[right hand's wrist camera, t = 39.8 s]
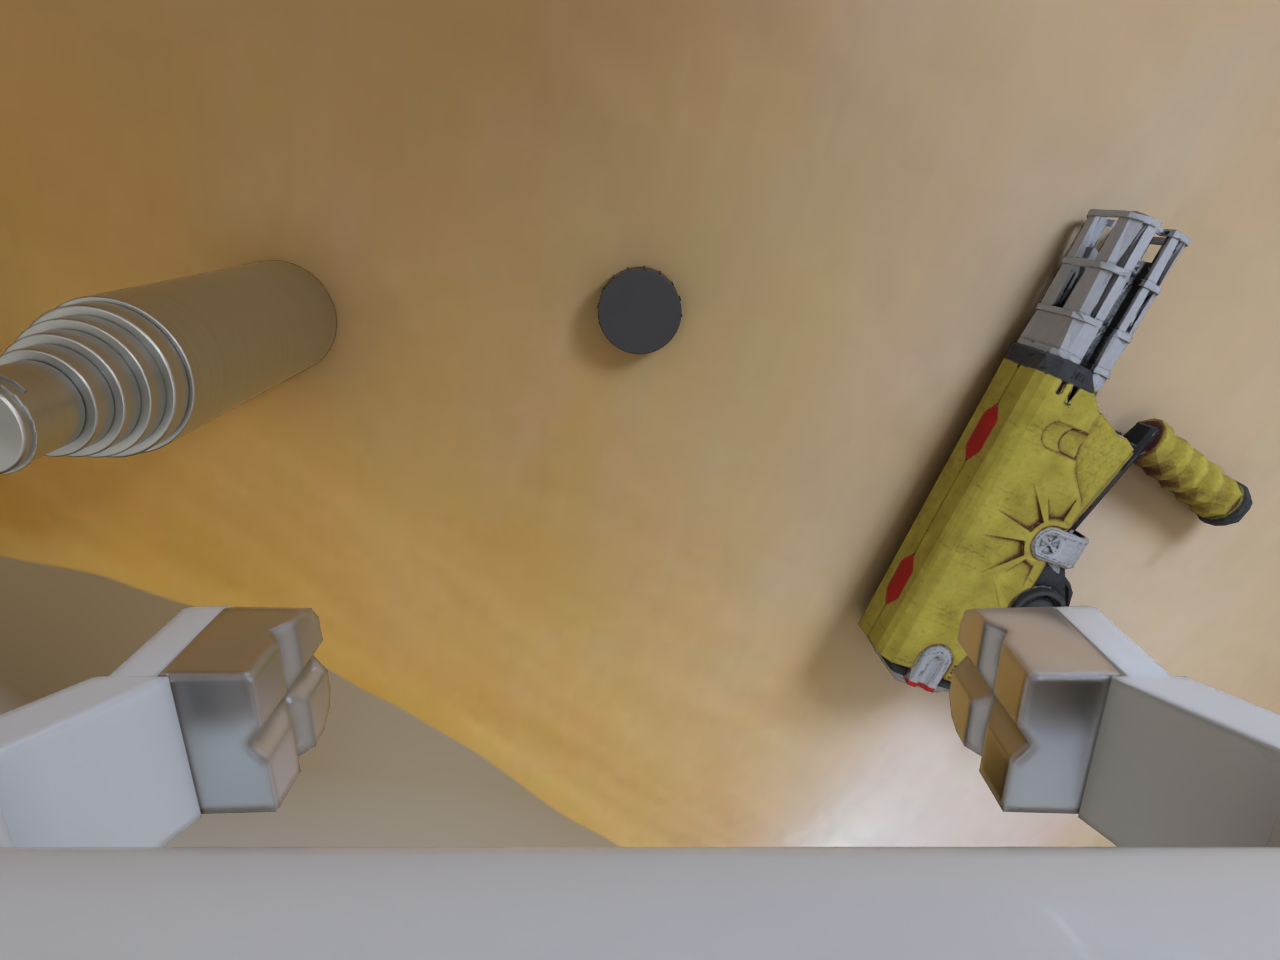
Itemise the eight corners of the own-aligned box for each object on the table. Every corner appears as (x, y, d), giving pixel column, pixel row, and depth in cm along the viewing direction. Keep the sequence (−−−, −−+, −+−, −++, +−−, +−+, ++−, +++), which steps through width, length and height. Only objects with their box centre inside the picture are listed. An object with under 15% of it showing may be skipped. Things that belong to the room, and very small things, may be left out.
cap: (634, 248, 38) (634, 251, 36) (697, 303, 39) (699, 307, 37) (582, 313, 39) (580, 318, 37) (644, 364, 40) (644, 371, 38)
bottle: (353, 296, 39) (102, 392, 20) (312, 389, 40) (46, 554, 22) (249, 239, 38) (-110, 286, 20) (211, 336, 39) (-154, 464, 21)
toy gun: (1399, 341, 36) (1143, 208, 33) (1109, 759, 43) (872, 683, 39) (1307, 325, 40) (1072, 206, 37) (1057, 706, 47) (839, 634, 44)
